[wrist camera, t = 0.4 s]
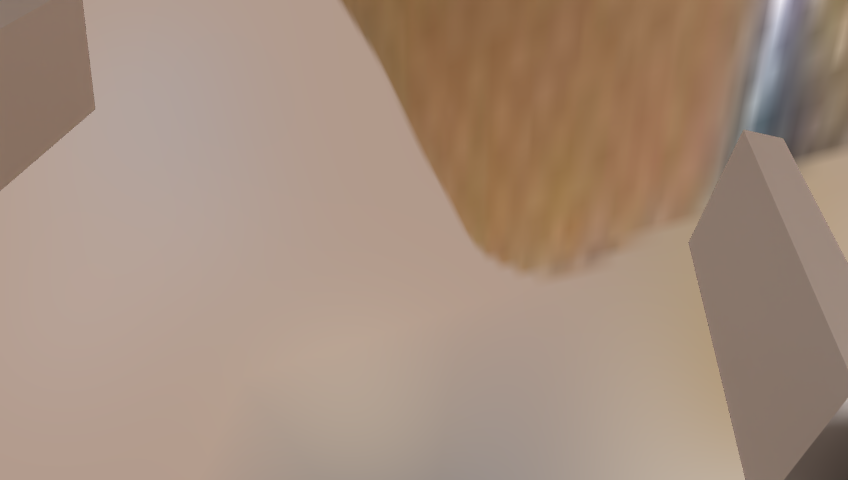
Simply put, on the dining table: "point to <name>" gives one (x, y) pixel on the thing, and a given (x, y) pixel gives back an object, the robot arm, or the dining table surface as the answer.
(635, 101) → the dining table surface
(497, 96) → the dining table surface
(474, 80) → the dining table surface
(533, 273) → the dining table surface
